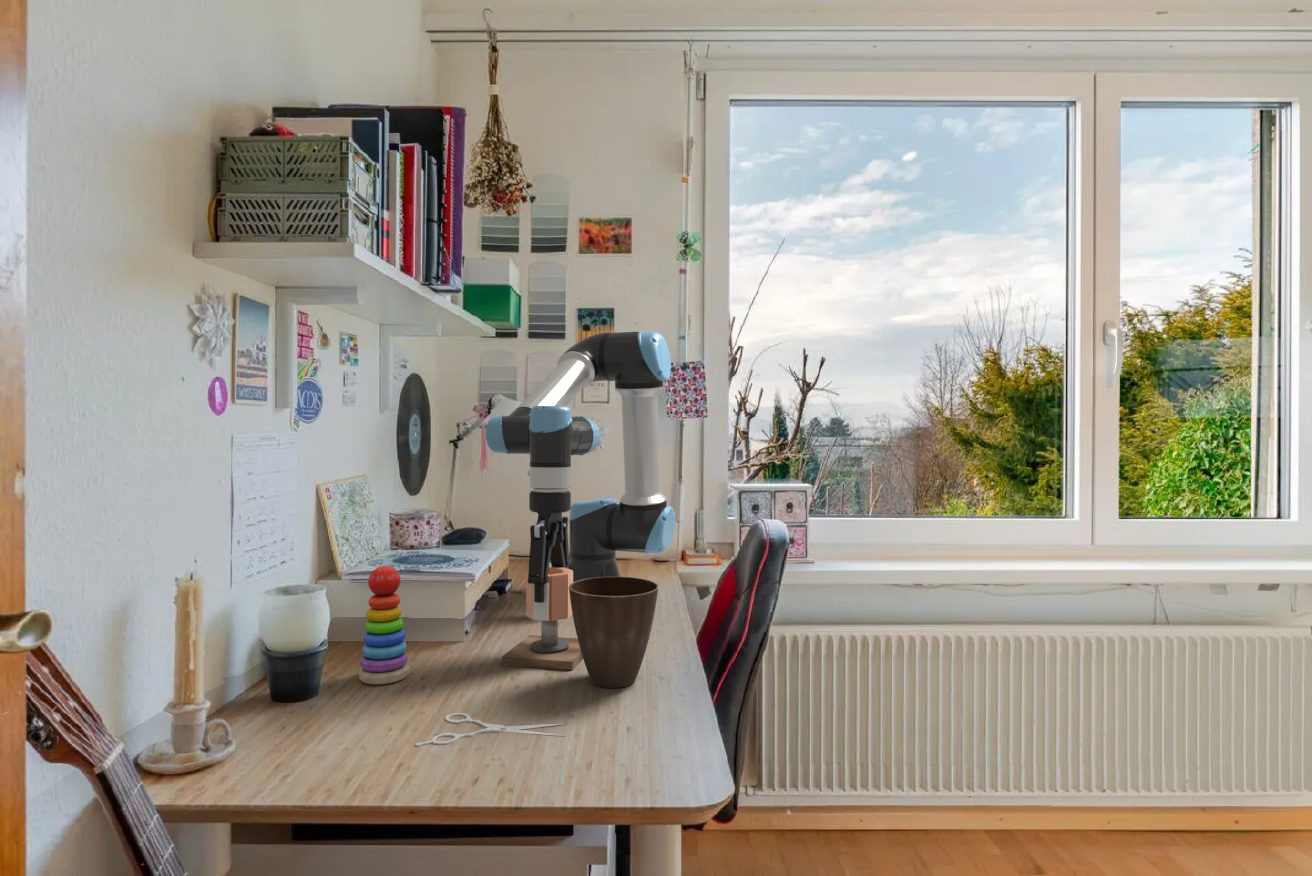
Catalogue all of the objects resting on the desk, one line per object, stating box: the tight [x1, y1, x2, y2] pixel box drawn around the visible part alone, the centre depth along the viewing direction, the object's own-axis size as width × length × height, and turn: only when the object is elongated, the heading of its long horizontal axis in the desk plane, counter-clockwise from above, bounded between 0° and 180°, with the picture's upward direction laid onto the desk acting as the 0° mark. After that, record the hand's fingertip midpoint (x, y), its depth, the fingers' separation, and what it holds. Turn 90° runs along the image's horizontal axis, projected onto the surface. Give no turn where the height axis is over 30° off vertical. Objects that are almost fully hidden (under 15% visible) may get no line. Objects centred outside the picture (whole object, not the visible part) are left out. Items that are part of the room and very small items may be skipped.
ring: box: [525, 567, 573, 621], centre depth 135 cm, size 8×8×8 cm
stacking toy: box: [358, 565, 410, 685], centre depth 123 cm, size 8×8×19 cm
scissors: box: [415, 712, 564, 748], centre depth 103 cm, size 11×1×20 cm
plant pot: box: [569, 576, 659, 689], centre depth 123 cm, size 15×15×16 cm
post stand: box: [501, 620, 583, 671], centre depth 135 cm, size 13×13×11 cm
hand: (549, 613), depth 135 cm, fingers closed on ring, 8 cm apart
